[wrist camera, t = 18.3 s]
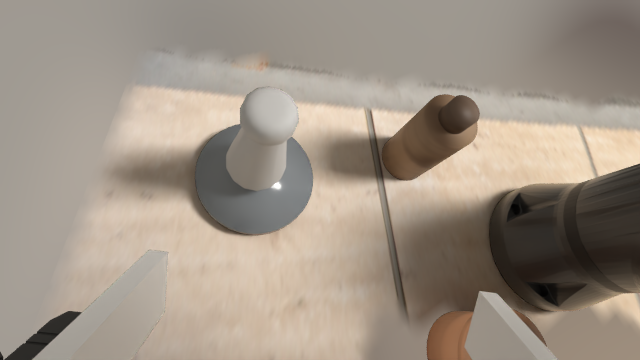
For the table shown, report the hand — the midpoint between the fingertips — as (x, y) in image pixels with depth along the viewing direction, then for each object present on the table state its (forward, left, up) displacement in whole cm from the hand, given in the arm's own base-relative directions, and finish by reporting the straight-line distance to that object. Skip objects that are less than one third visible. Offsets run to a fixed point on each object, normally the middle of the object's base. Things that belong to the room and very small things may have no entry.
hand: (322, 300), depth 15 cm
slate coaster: (-1, -12, -21) cm, 25 cm away
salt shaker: (-1, -13, -20) cm, 24 cm away
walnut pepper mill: (-19, -13, -21) cm, 31 cm away
